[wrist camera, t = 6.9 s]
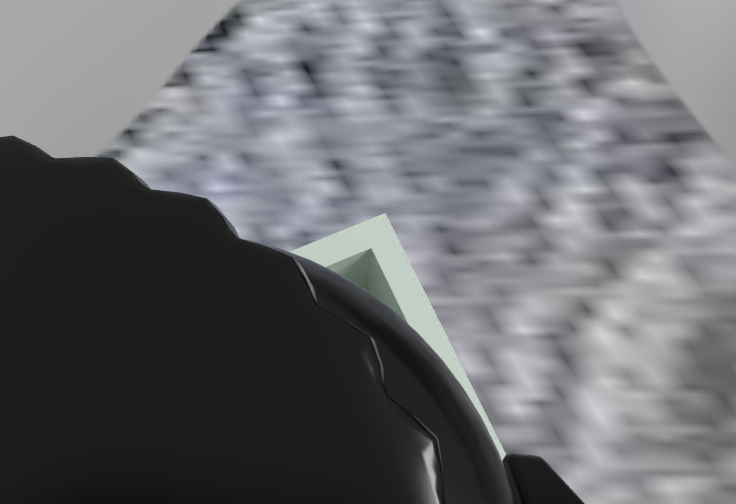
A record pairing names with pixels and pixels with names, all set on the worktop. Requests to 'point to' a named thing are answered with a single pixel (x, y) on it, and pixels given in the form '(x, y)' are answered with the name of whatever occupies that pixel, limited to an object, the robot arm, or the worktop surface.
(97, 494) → the supplement bottle
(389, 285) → the box
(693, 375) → the worktop surface
